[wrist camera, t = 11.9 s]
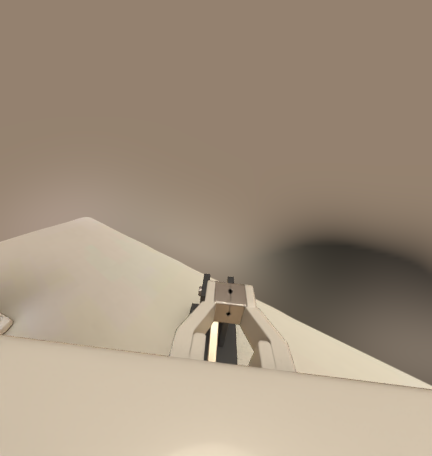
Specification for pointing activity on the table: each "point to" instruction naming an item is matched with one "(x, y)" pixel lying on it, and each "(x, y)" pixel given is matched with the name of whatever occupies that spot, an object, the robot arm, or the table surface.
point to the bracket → (220, 332)
